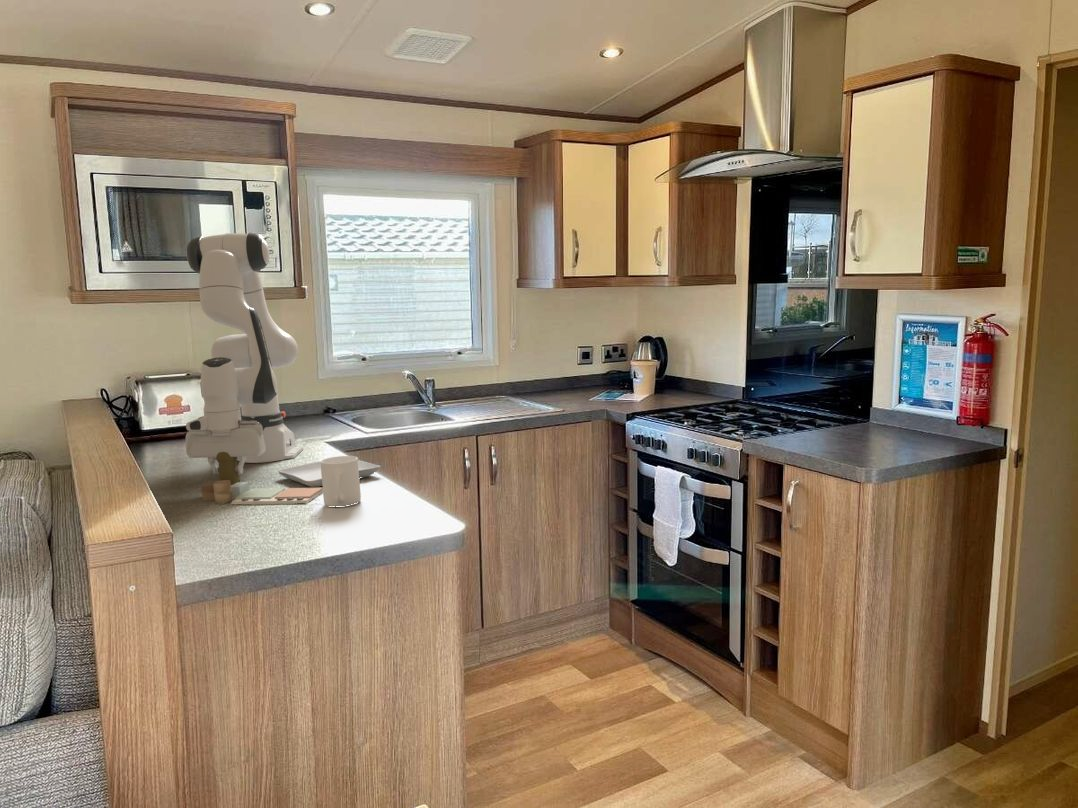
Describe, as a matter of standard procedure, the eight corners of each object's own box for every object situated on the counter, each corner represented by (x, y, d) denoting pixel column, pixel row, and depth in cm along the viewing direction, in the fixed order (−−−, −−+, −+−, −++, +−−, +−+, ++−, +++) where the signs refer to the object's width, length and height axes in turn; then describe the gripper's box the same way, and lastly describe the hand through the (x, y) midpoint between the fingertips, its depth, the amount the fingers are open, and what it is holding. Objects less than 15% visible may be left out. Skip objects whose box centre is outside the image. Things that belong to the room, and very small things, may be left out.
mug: (319, 513, 183) (316, 467, 181) (326, 500, 194) (322, 457, 193) (358, 510, 184) (354, 465, 182) (362, 497, 195) (359, 454, 194)
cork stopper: (220, 499, 200) (218, 480, 199) (235, 499, 199) (233, 479, 198) (212, 504, 196) (209, 484, 195) (227, 503, 195) (224, 483, 195)
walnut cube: (206, 497, 204) (205, 481, 203) (223, 495, 204) (221, 480, 204) (202, 501, 200) (201, 485, 199) (219, 499, 200) (217, 484, 200)
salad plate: (276, 480, 220) (275, 468, 219) (347, 467, 233) (346, 455, 233) (309, 493, 204) (308, 480, 203) (383, 478, 217) (382, 465, 216)
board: (252, 493, 205) (251, 488, 205) (323, 491, 203) (323, 487, 203) (231, 504, 194) (231, 500, 194) (306, 503, 192) (306, 498, 192)
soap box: (238, 493, 206) (237, 482, 206) (249, 493, 206) (248, 482, 205) (229, 498, 201) (227, 487, 201) (240, 498, 201) (239, 486, 200)
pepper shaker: (234, 486, 213) (230, 446, 211) (247, 489, 209) (243, 448, 208) (213, 491, 208) (209, 450, 207) (225, 494, 205) (221, 452, 203)
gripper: (267, 418, 208) (271, 469, 210) (192, 420, 210) (198, 471, 212) (256, 422, 202) (261, 475, 204) (179, 424, 204) (185, 477, 206)
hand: (228, 473), depth 208 cm, fingers closed on pepper shaker, 4 cm apart
